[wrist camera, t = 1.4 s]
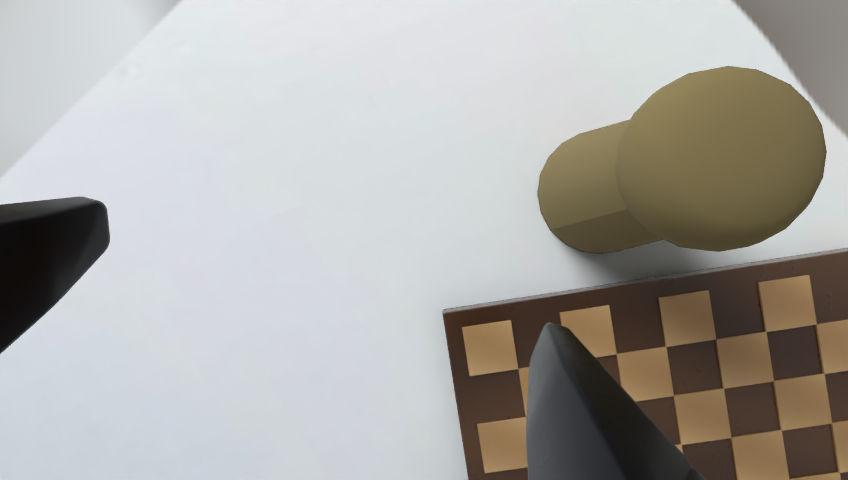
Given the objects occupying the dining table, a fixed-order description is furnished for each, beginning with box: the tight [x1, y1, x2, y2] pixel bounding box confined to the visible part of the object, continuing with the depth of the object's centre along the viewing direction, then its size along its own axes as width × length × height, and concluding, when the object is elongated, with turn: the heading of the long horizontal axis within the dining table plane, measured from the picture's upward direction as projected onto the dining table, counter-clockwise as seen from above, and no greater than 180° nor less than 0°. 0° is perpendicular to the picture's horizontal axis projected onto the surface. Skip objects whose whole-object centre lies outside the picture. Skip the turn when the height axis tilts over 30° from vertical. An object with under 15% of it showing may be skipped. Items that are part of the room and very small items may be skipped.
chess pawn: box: [538, 66, 827, 254], centre depth 17 cm, size 6×6×11 cm
